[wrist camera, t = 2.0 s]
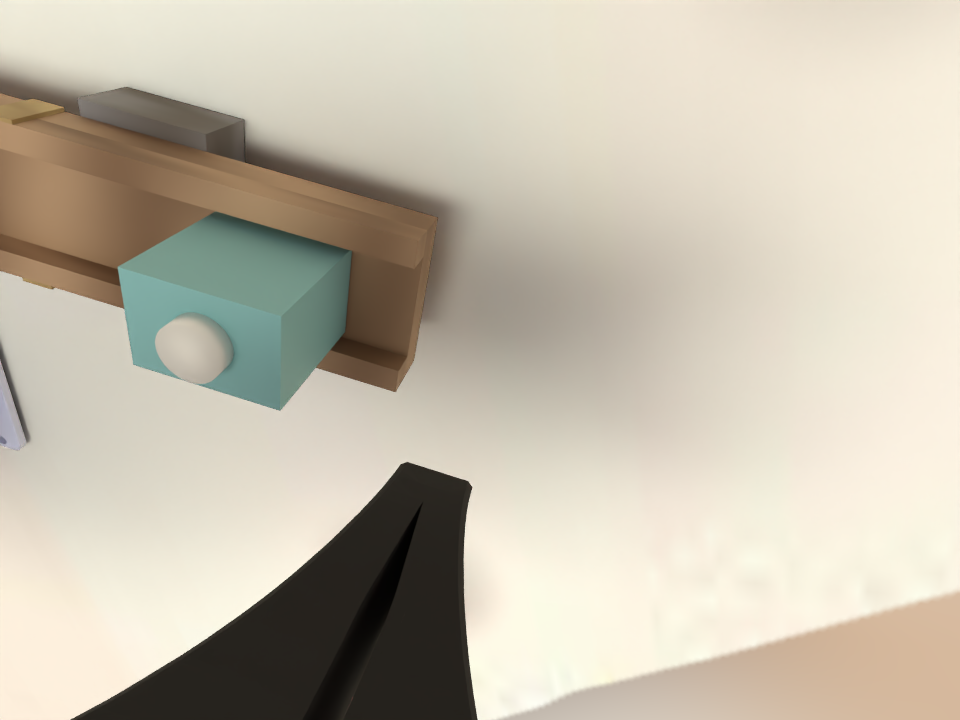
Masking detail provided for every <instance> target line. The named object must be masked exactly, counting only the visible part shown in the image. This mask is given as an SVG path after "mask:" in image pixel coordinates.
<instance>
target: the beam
mask: <svg viewBox="0 0 960 720" xmlns="http://www.w3.org/2000/svg"><path fill="white" fill-rule="evenodd" d="M77 99H78V105H79V111H80V116H79V115H75V114H72V113H68V112H65V110H64V107H61V106H57V105H54V104H50V103H47V102H43V101H40V100H36V99H29V100H22V99H19V98H15V97H12V96H8V95H5V94H1V93H0V271H3V272H6V273H10V274H13V275H16V276H19V277H22V278H23V281H26V282H29V283H32V284H36V285H39V286H42V287H45V288H49V289H54V288H58V289H62V290H65V291H68V292H71V293H75V294H78V295H81V296H85V297H88V298H91V299H94V300H98V301H101V302H104V303H107V304H111V305H114V306H117V307H120V308H124V303H123V297H122V291H121V285H120V279H119V272H118V266H120V265H122V264H124V263H125V262H127V261H129V260H131V259H132V258H134V257H136V256H138V255H139V254H141V253H143V252H145V251H147V250H148V249H150V248H152V247H154V246H155V245H157V244H159V243H161V242H162V241H164V240H166V239H168V238H169V237H171V236H173V235H175V234H177V233H178V232H180V231H182V230H184V229H185V228H187V227H189V226H191V225H192V224H194V223H196V222H198V221H199V220H201V219H203V218H205V217H207V216H208V215H210V214H212V213H214V212H215V211H216V212H220V213H223V214H227V215H230V216H234V217H237V218H241V219H244V220H247V221H251V222H254V223H258V224H261V225H265V226H268V227H271V228H275V229H278V230H282V231H285V232H289V233H292V234H296V235H299V236H302V237H306V238H309V239H313V240H316V241H320V242H323V243H326V244H330V245H333V246H337V247H340V248H344V249H347V250H350V251H352V256H351V268H350V279H349V291H348V303H347V315H346V327H345V333H344V334H343V335H342V336H341V337H340V339H339V340H338V341H337V342H336V344H335V345H334V346H333V347H332V348H331V350H330V351H329V352H328V353H327V354H326V356H325V357H324V358H323V359H322V361H321V362H320V363H319V364H318V365H317V367H316V368H319V369H322V370H325V371H328V372H332V373H335V374H338V375H341V376H345V377H348V378H351V379H354V380H358V381H361V382H364V383H367V384H371V385H374V386H377V387H380V388H384V389H387V390H390V391H393V392H396V390H397V389H398V387H399V385H400V383H401V382H402V380H403V378H404V377H405V375H406V373H407V372H408V370H409V368H410V366H411V365H412V363H413V361H414V357H415V351H416V345H417V339H418V334H419V328H420V322H421V316H422V310H423V304H424V298H425V292H426V286H427V280H428V274H429V268H430V262H431V256H432V250H433V244H434V238H435V232H436V227H437V221H438V217H435V216H431V215H427V214H424V213H420V212H417V211H413V210H410V209H406V208H403V207H399V206H396V205H392V204H389V203H385V202H382V201H378V200H375V199H371V198H368V197H364V196H361V195H357V194H353V193H350V192H346V191H343V190H339V189H336V188H332V187H329V186H325V185H322V184H318V183H315V182H311V181H308V180H304V179H301V178H297V177H294V176H290V175H287V174H283V173H279V172H276V171H272V170H269V169H265V168H262V167H258V166H255V165H251V164H248V163H245V147H244V120H243V119H239V118H236V117H232V116H228V115H225V114H221V113H218V112H214V111H210V110H207V109H203V108H200V107H196V106H192V105H189V104H185V103H182V102H178V101H174V100H171V99H167V98H164V97H160V96H156V95H153V94H149V93H146V92H142V91H138V90H135V89H131V88H128V87H124V88H120V89H115V90H111V91H106V92H102V93H98V94H93V95H89V96H84V97H80V98H77Z"/></svg>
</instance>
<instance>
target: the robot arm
mask: <svg viewBox="0 0 960 720" xmlns="http://www.w3.org/2000/svg"><path fill="white" fill-rule="evenodd" d="M0 445H1V446H4V447H7V448H11V449H14V450H20V449H21V448H22V447H24V446H25V445H26V439H25V436H24V433H23V430H22V426H21V423H20V420H19V417H18V414H17V411H16V408H15V405H14V401H13V398H12V395H11V392H10V389H9V386H8V383H7V379H6V376H5V373H4V370H3V367H2V364H1V361H0ZM471 490H472V486H471V485H470V483H469V482H468V481H465V480H462V479H459V478H456V477H453V476H450V475H447V474H443V473H440V472H437V471H434V470H431V469H428V468H424V467H421V466H418V465H415V464H412V463H409V462H406V463H403V464H401V465H400V466H399V468H398V469H397V470H396V472H395V473H394V474H393V475H392V477H391V478H390V479H389V480H388V482H387V483H386V484H385V485H384V486H383V488H382V489H381V490H380V491H379V492H378V493H377V494H376V495H375V497H374V498H373V499H372V500H371V501H370V502H369V503H368V504H367V505H366V506H365V507H364V508H363V509H362V510H361V512H360V513H359V514H358V515H356V516H355V517H354V518H353V519H352V520H351V521H350V522H349V523H348V524H347V525H346V526H345V527H344V528H343V529H342V530H341V531H340V532H339V533H338V534H337V535H336V536H335V537H334V538H333V539H332V540H331V541H330V542H329V543H328V544H327V545H326V546H324V547H323V548H322V549H321V550H320V551H319V552H318V553H316V554H315V555H314V556H313V557H312V558H311V559H310V560H308V561H307V562H306V563H305V564H304V565H303V566H302V567H301V568H299V569H298V570H297V571H296V572H295V573H294V574H292V575H291V576H290V577H289V578H288V579H286V580H285V581H284V582H283V583H281V584H280V585H279V586H278V587H277V588H275V589H274V590H273V591H271V592H270V593H269V594H268V595H266V596H265V597H264V598H262V599H261V600H260V601H258V602H257V603H256V604H254V605H253V606H252V607H251V608H249V609H248V610H247V611H245V612H244V613H242V614H241V615H240V616H238V617H237V618H235V619H234V620H233V621H231V622H230V623H228V624H227V625H225V626H224V627H223V628H221V629H220V630H218V631H217V632H215V633H214V634H213V635H211V636H210V637H208V638H207V639H205V640H204V641H202V642H201V643H199V644H198V645H196V646H195V647H193V648H192V649H190V650H189V651H187V652H186V653H184V654H183V655H181V656H179V657H178V658H176V659H175V660H173V661H171V662H170V663H168V664H166V665H165V666H163V667H161V668H160V669H158V670H156V671H155V672H153V673H152V674H150V675H148V676H147V677H145V678H143V679H142V680H140V681H138V682H137V683H135V684H133V685H132V686H130V687H129V688H127V689H125V690H124V691H122V692H120V693H118V694H117V695H115V696H113V697H111V698H110V699H108V700H106V701H104V702H103V703H101V704H99V705H97V706H95V707H93V708H91V709H90V710H88V711H86V712H84V713H82V714H80V715H78V716H76V717H75V718H73V719H71V720H477V714H476V708H475V701H474V695H473V688H472V680H471V673H470V665H469V656H468V646H467V635H466V621H465V606H464V561H463V558H464V535H465V522H466V514H467V507H468V502H469V498H470V494H471ZM351 700H352V701H351Z"/></svg>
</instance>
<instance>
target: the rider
mask: <svg viewBox="0 0 960 720" xmlns="http://www.w3.org/2000/svg"><path fill="white" fill-rule="evenodd" d="M351 256H352V251H350V250H347V249H344V248H340V247H337V246H333V245H330V244H326V243H323V242H320V241H316V240H313V239H309V238H306V237H302V236H299V235H296V234H292V233H289V232H285V231H282V230H278V229H275V228H271V227H268V226H265V225H261V224H258V223H254V222H251V221H247V220H244V219H241V218H237V217H234V216H230V215H227V214H223V213H220V212H216V211H215V212H214V213H212V214H210V215H208V216H207V217H205V218H203V219H201V220H199V221H198V222H196V223H194V224H192V225H191V226H189V227H187V228H185V229H184V230H182V231H180V232H178V233H177V234H175V235H173V236H171V237H169V238H168V239H166V240H164V241H162V242H161V243H159V244H157V245H155V246H154V247H152V248H150V249H148V250H147V251H145V252H143V253H141V254H139V255H138V256H136V257H134V258H132V259H131V260H129V261H127V262H125V263H124V264H122V265H120V266H118V272H119V279H120V285H121V291H122V297H123V303H124V309H125V315H126V321H127V328H128V334H129V340H130V346H131V352H132V358H133V364H134V365H136V366H140V367H143V368H146V369H149V370H152V371H155V372H159V373H162V374H165V375H168V376H171V377H175V378H178V379H181V380H184V381H187V382H190V383H194V384H197V385H200V386H203V387H206V388H210V389H213V390H216V391H219V392H222V393H225V394H229V395H232V396H235V397H238V398H241V399H245V400H248V401H251V402H254V403H257V404H260V405H264V406H267V407H270V408H273V409H276V410H281V409H282V408H283V407H284V406H285V404H286V403H287V402H288V401H289V399H290V398H291V397H292V396H293V395H294V393H295V392H296V391H297V390H298V389H299V387H300V386H301V385H302V384H303V382H304V381H305V380H306V379H307V378H308V376H309V375H310V374H311V373H312V371H313V370H314V369H315V368H316V367H317V365H318V364H319V363H320V362H321V361H322V359H323V358H324V357H325V356H326V354H327V353H328V352H329V351H330V350H331V348H332V347H333V346H334V345H335V344H336V342H337V341H338V340H339V339H340V337H341V336H342V335H343V334H344V333H345V327H346V315H347V303H348V291H349V279H350V268H351Z"/></svg>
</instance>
